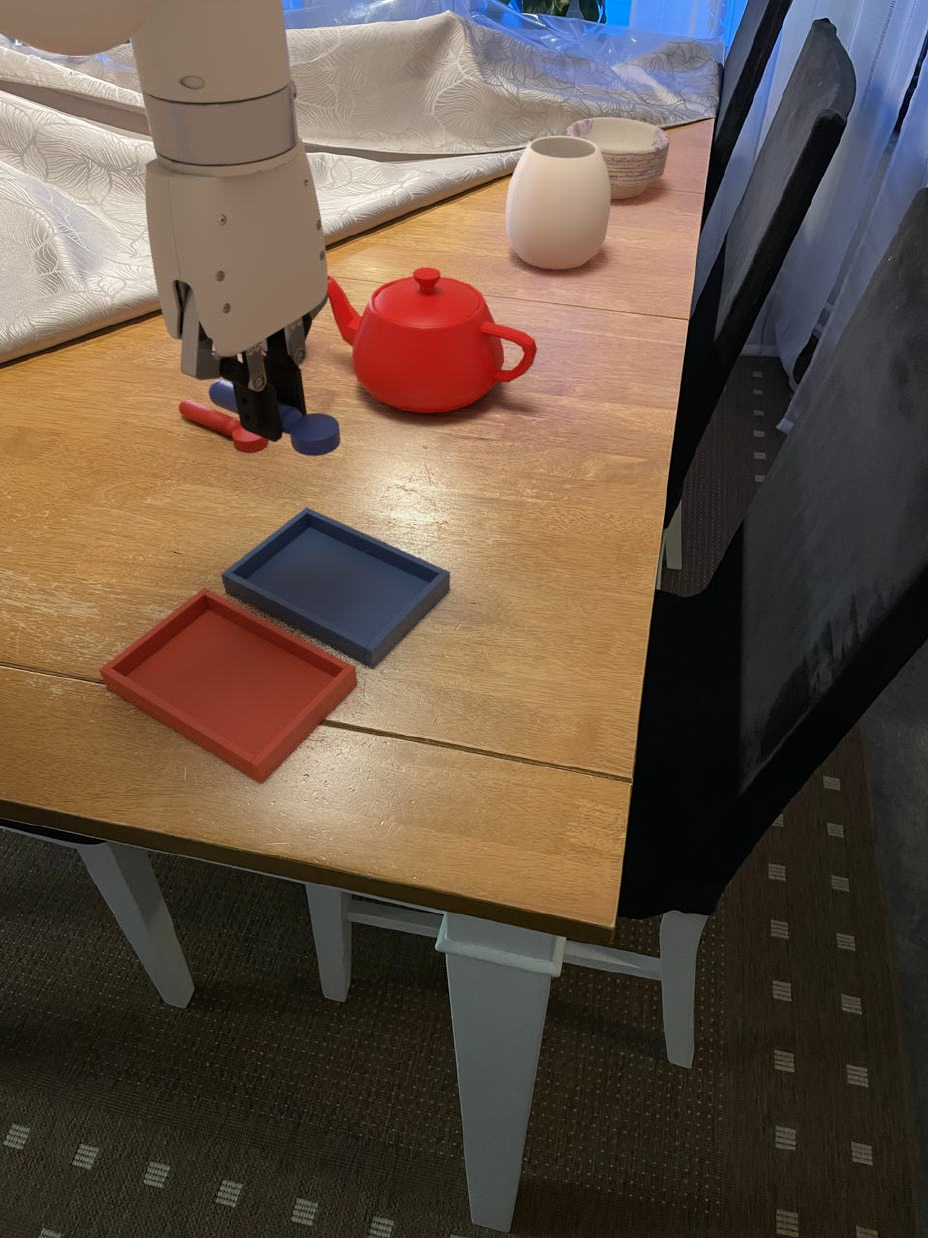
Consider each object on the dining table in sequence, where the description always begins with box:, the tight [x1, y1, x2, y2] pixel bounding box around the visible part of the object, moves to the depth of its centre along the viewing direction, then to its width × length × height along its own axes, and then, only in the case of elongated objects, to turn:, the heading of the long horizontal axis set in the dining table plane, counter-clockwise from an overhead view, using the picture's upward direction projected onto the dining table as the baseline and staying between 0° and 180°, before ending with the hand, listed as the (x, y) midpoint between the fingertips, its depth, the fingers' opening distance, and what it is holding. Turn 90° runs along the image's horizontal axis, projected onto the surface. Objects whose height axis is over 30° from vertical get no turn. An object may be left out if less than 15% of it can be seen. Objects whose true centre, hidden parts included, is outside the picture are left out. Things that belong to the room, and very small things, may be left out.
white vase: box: [504, 135, 612, 270], centre depth 110 cm, size 13×13×14 cm
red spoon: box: [178, 398, 269, 453], centre depth 85 cm, size 11×3×2 cm, turn 57°
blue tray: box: [220, 507, 451, 669], centre depth 69 cm, size 15×10×2 cm
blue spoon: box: [208, 379, 342, 457], centre depth 58 cm, size 11×3×2 cm, turn 57°
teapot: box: [327, 266, 538, 414], centre depth 88 cm, size 25×16×12 cm, turn 65°
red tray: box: [99, 587, 358, 784], centre depth 62 cm, size 15×10×2 cm
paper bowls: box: [564, 116, 671, 200], centre depth 130 cm, size 15×15×8 cm
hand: (274, 423), depth 59 cm, fingers closed on blue spoon, 1 cm apart
